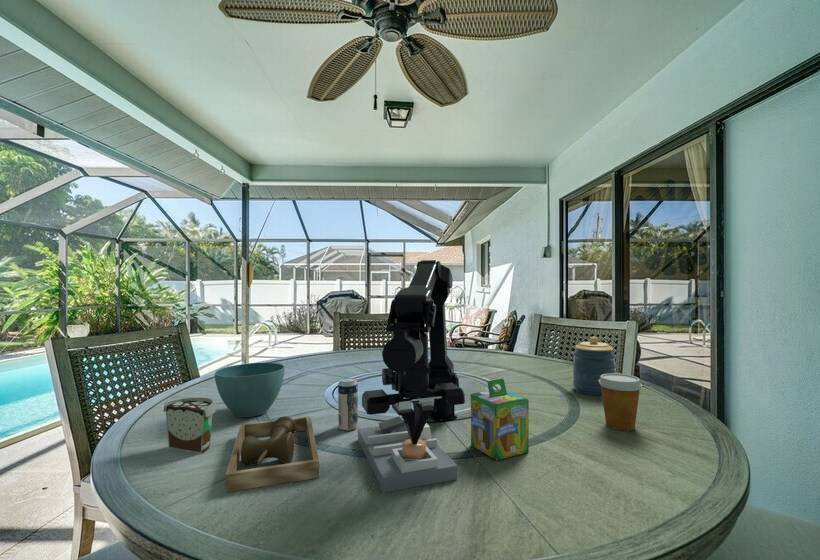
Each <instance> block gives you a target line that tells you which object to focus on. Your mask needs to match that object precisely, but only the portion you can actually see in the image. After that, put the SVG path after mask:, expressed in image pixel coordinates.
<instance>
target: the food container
mask: <svg viewBox="0 0 820 560" xmlns="http://www.w3.org/2000/svg"><path fill="white" fill-rule="evenodd" d="M163 412H164V413H165V419H166V420H165V421H166V431H167V433H166V434H167V442H168V443H167V444H168V449H170V448H172V449H171V450H176V449H177V451H182V450H183V452H188V451H189V452H188V453H195V454H200V455H203V454H204V453H205V452H207V451H208V450H209V449H210V446H211V434H212V421H213V414H214V413H216V406H215V403H214V401H213V399H211V398H208V397H186V398H185V397H184V398H179V399H178V398H177V399H173V400H170V401H166V402H164V406H163Z"/></svg>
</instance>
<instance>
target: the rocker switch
mask: <svg viewBox="0 0 820 560" xmlns="http://www.w3.org/2000/svg"><path fill="white" fill-rule="evenodd" d="M404 423H405V422H404V420H403V418H401V416H400V415H398V416H395V417H392V418H389V419H386V420H384V421H381V422H378V426H379V428H380V429H381V431H382V432H383V434H384V433H387V432H390V431H393V430H396V429H399V428H401V427H404V426H405V425H404Z"/></svg>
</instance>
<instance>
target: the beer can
mask: <svg viewBox="0 0 820 560" xmlns="http://www.w3.org/2000/svg"><path fill="white" fill-rule="evenodd" d="M358 384H359V383H358V381H357V379H356V378H354V377H345V378H340V380H339V381H338V383H337V392H338V393H337V395H338V396H337V400H338V401H337V402H338V405H337V406H338V410H337V411H338V429H340V430H342V431H346V432H347V431H349V432H350V431H354V430H355V429H356V428H359V427H358V426H359V396H358V395H359V392H358V391H359V390H358V388H359V387H358V386H359V385H358Z"/></svg>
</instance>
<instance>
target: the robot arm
mask: <svg viewBox="0 0 820 560" xmlns="http://www.w3.org/2000/svg"><path fill="white" fill-rule="evenodd" d="M452 273H453V272H452V271H451V269H450V268H449V267H447V266H444V265H443V264H442V263H441V261H440V260H437V259H421V260H420V261H418V262H417V263H416V270H415V272H414V274H413V277H412V279H411V281H410V283H409V285H408V287H405V288H402V289H401V288H400V290H399V291H397V293H396V294H395V296H394V298H393V299H392V300H391V303H390V308H389V313H388V319H387V324H386V332H389V333H390V332H393V338H391V339H389V340H388V341H387V342H385V345H384V346H383V349H382V352H381V353H382V354H381V356H382V360H383V363H384V365H385V366H386V367H387V368H382V370H381V379H382V380H381V381H382V385H383V386H391V390H392V391H393V390H394V391H395V392H397V393H390V394H389V393H388V394H387V392H385V390H383V389H381V388H380V389H372V390H365V391H364V392H363V393H362V394H361V406H362V408H363V409H364V411H365V413H366V414H367V415H380V414H381V415H383V414H386V413H387V412H388V411H389V410H390V407H391V408H392V409H393V411H395V412H396V414H397V415H398V416H399V417H402V418H401V419H402V420H403V422H404V423H405V425H406V428H407V431H408V434H409V437H410V440H411V443H412V444H417V442H418V440H419V438H420V435H421V433H422V431H423V428H424V426H425V424H426V423H427V422H428V421H429V419H430V418H431V420H432V421H434V422H439V421H447V420H457V419H458V415H456V414H455V406H457V405H464V404H465V397H466V396H465V395H466V394H465V392H464V390H463V388H461V387H460V381H459V378H458V375H457V372H455V366H454V365H455V364H454V363H453V362H452V360H451V359H450V357H449V356H448V347H447V346H448V344H447V342H448V341H447V325H446V324H447V323H446V322H447V321H446V301H447V300H448V298H449V297H450V294H451V289H453V281H454V280H453V274H452ZM429 357H430V359H429Z"/></svg>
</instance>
